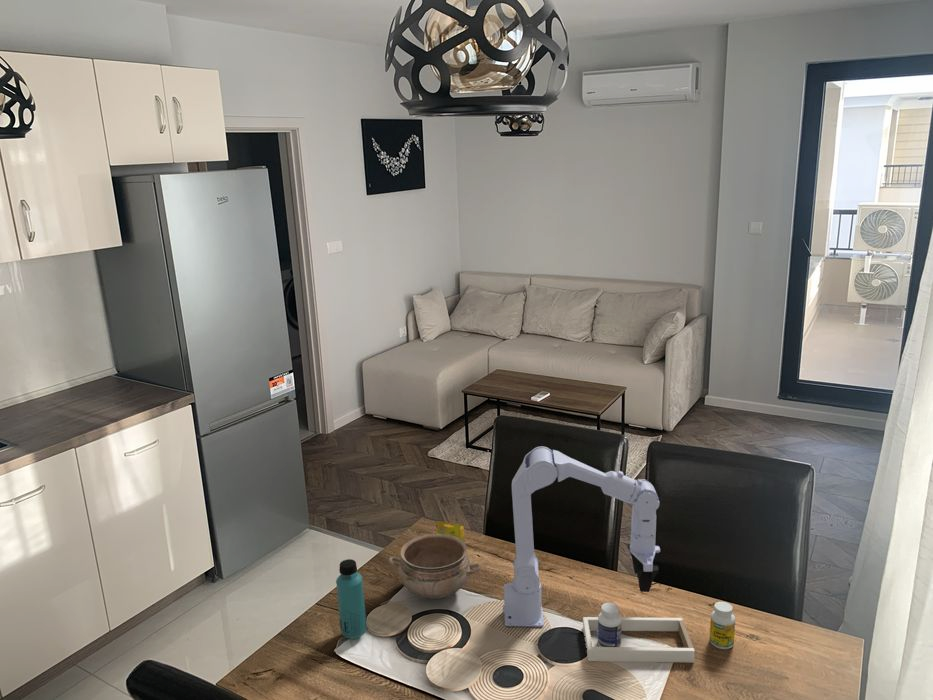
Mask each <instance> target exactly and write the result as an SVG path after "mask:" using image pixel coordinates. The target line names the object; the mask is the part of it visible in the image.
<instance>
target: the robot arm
mask: <svg viewBox="0 0 933 700" xmlns="http://www.w3.org/2000/svg"><path fill="white" fill-rule="evenodd" d="M568 478H573V479H576V480H579V481H582V482H585V483H588V484H591V485H594V486H597V487H600V489H601V492H602V493H603V494H604V495H606V496H609V497H611V498H614V499H616V500H619V501H622V502H624V503H627V504H629V505H630V504H631V505H632V506H631V507H632V509H631V525H630V527H631V528H630V543H628V544H627V545H626V546H627V550H628V551H629V553H630V555H631V556H630V557H631V561H632V567H633V572H634V574H635V575H636V576H637V581H638V588H639V591H640V592H641V593H650V591H651V587H652V584H653V581H654V579H655V577H656V575H658V573H659V572H660V571H659V570H660V569H659V566H658V565H654V563H653V562H654V559H655V556H656V554H659V553H660V552H661V548H660V546H659V545H656V536H657V535H656V532H657V510H658V509H659V507H660V504H661V503H660V502H661V501H660V500H659V496H658V493H657V491H656V489H655V487H654V485H653V484H652V483H651V482H650V481H648V480H647V479H645V478H644V479H643V478H642V479H640V478H637V479H634V478H632V477H630V476H627V475H624V472H623V471H621V470H617V471H613V470H610V471H607V472H603V471H601V470H599V469H597V468H594V467H592V466H590V465H587V464H586V463H583V462H581V461H578V460H577V459H575V458H571V457H570V456H568V455H566V454H564V453H563V452H561V451H559V450H556V449H550V448H549V447H547V446H543V445H542V446H536V447H535V448H533V449H531V451H529V452H528V453H527V454H525V456H524V457H523V461H522V463H521V464H520V466H519V468H518V469H517V472H516V473H515V475H514V477H513V478H512V480H511V497H512V513H513V526H514V527H513V528H514V541H515V557H514V559H513V579H512V581H511V582H508V583H504V585H503V586H504V587H503V588H504V589H503V590H504V591H503V595H504V596H503V599H504V600H503V602H504V604H503V606H502V611H503V612H502V613H504V626H505V627H530V628H531V627H536V628H538V627H544V625H545V623H544V611H543V608H544V607H543V606H542V582H541V579H540V575H539V573H540V572H539V565H540V564H539V562H540V561H539V559H538V558H537V555H536V554H535V545H534V544H535V543H534V531H533V530H534V529H533V528H534V526H533V511H532V510H533V509H532V494H533V493H535V491H538V490H541V489H544V488H546V487H548V486H550V485H552V484H553V483H554V482H555V481H556V479H557V482H559V483H560V482H562V481H564V480H566V479H568Z"/></svg>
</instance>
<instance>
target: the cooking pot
mask: <svg viewBox="0 0 933 700" xmlns="http://www.w3.org/2000/svg"><path fill="white" fill-rule="evenodd" d="M467 552H468V546H467V544H466V543H464V542H463V541H462V540H461V539H459V538H457V537H455V536H452V535H447V534H438V533H428V534H423V535H422V534H421V535H418V536H416V537H413V538H411V539H410V540H408V541H407V542H406V543H404V544H403V546H402V547H401V549H400V557H397V556H390V557H389V559H388V563H389V564H390V566H391V567H393V569H396V571H398V576H399V579H400V582H401V583H402V585H403V586H404V588H405V589H406V590H408V592H410V593H411V594H413V595H415V596H417V597H420V598H423V599H432V600H433V599H434V600H435V599H436V600H437V599H441V598H446V597H450V596H452V595H454V594H455V593H457V592H459V591H460V590H461V589H462V588H463V587H464V585H466V583H467V581H468V579H469V578H470V576H471V575H473V574H476V573H477V572H478V571H480V570H481V568H482V564H481V563H471V562H470V558H469V555H468V554H467ZM394 561H396V562H398V563H399V564H396V563H395V562H394Z"/></svg>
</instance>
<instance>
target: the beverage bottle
mask: <svg viewBox="0 0 933 700" xmlns="http://www.w3.org/2000/svg"><path fill="white" fill-rule="evenodd" d="M338 571H339V576H338V577H337V578H336V580H335V583H336V590H337V591H336V594H337V595H336V596H337V604H338V613H339V614H338V615H339V623H338V624H339V630H340V633H341V634H342V636H343V637H345V638H346V639H357V638H360V637H362V636H363V635H364V634H365V633H366V631H367V628H368V627H367V626H368V625H367V624H368V623H367V614H366V613H367V611H366V607H365V606H366V605H365V596H364V595H365V594H364V585H363V576H362V575H361V574H360V573H359V572H358V566H357V562H356V560H354V559H350V558H349V559H343V560H342V561H341V562H340V563H339V569H338Z"/></svg>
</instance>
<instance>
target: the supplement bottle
mask: <svg viewBox="0 0 933 700" xmlns="http://www.w3.org/2000/svg"><path fill="white" fill-rule="evenodd" d="M733 609H734V607H733V606H732V604H730V603H728V602H725V601H716V602H715V603H714V605H713V610H712V612H711V614H710V623H709V624H710V625H709V626H710V627H709V642H710V644H711V645H712V646H713V647H715V648H717V649H720V650H729V649H731V648H733V646H734V645H735V633H736V630H735V629H736V616H735V615H734V614H733V613H734V612H733Z"/></svg>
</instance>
